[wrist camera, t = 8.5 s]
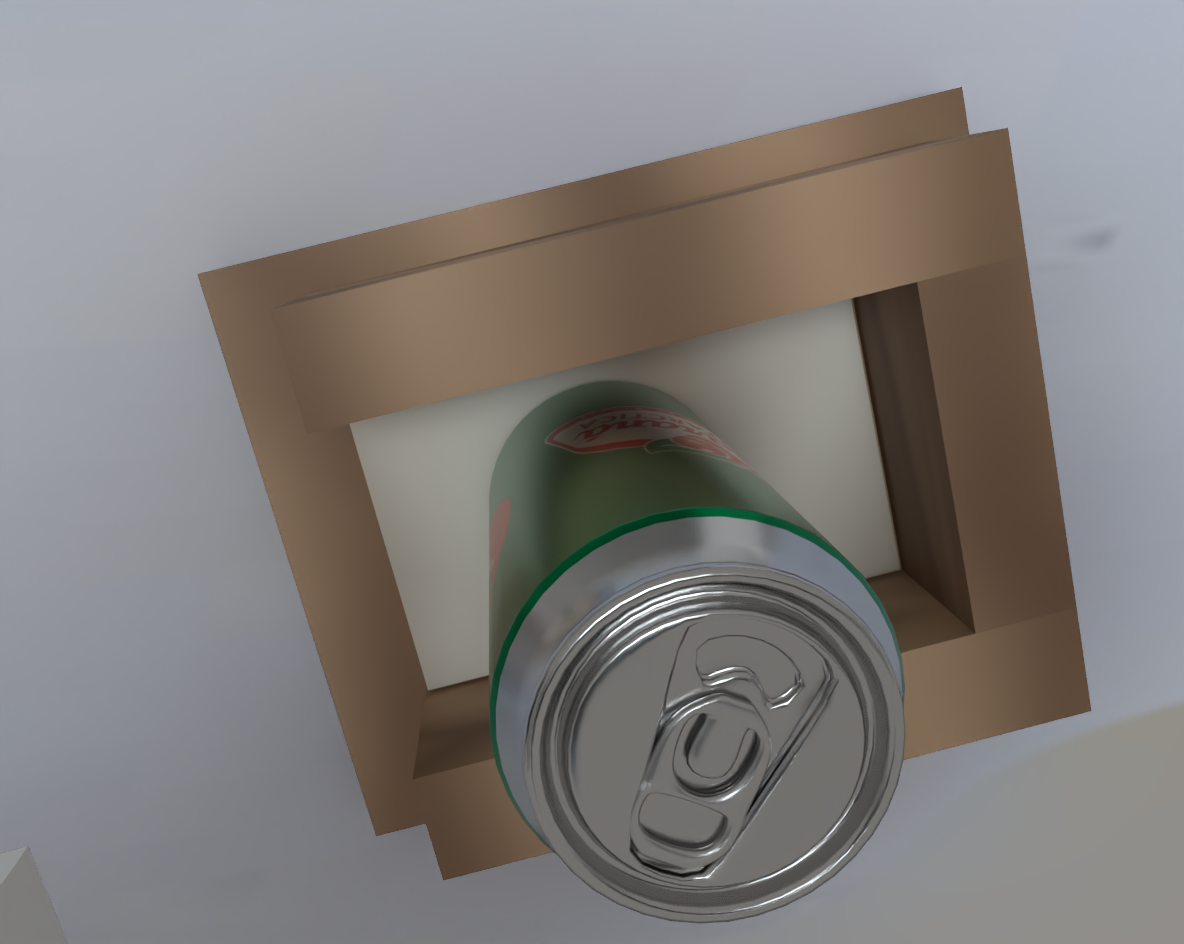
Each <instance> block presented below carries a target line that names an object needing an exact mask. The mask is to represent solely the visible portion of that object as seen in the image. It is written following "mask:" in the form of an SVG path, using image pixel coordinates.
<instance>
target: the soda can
mask: <svg viewBox="0 0 1184 944" xmlns="http://www.w3.org/2000/svg"><path fill="white" fill-rule="evenodd" d="M904 695H905V682H904V673H903V663H902V656H901V652H900V648H899V645H898V641H897V638H896V634H895V631H894V627H893V625H892V623H891V621H890V619H889V617H888V615H887V613H886V611H885V608H884V606H883V604H882V602H881V600H880V599H879V597H878V596H877V594H876V593H875V592H874V590H873V589H872V587H871V586H870V585H869V583H868V582H867V580H866V579H865V577H864V576H863V575H862V574H861V573H860V572H859V571H858V570H857V569H856V568H855V567H854V566H853V565H852V564H851V563H850V562H849V561H848V560H847V559H846V558H845V557H844V556H843V555H842V554H841V553H840V552H839V551H838V550H837V549H836V548H835V547H834V546H833V545H832V544H831V543H830V542H829V541H828V540H827V539H826V538H825V537H824V536H823V535H821V534H820V533H819V532H818V531H817V530H816V529H815V528H814V527H813V526H812V525H811V524H810V523H809V522H808V521H807V520H806V519H805V518H804V517H803V516H802V515H801V514H799V513H798V512H797V511H796V510H795V509H794V508H793V507H792V506H791V505H790V504H789V503H788V502H787V501H786V500H785V499H784V498H783V497H782V496H781V495H780V494H778V493H777V492H776V491H775V490H774V489H773V488H772V487H771V486H770V485H769V484H768V483H767V482H766V481H765V480H764V479H763V478H762V477H761V476H760V475H759V474H758V473H756V472H755V471H754V470H753V469H752V468H751V467H750V466H749V465H748V464H747V463H746V462H745V461H744V460H743V459H742V458H741V457H740V456H739V455H738V454H737V453H736V452H734V451H733V450H732V449H731V448H730V447H729V446H728V445H727V444H726V443H725V442H724V441H723V440H722V439H721V438H720V437H719V436H718V435H717V434H716V433H715V432H714V431H712V430H711V429H710V428H709V427H708V426H707V425H706V424H705V423H704V422H703V421H702V420H701V419H700V418H699V417H698V416H697V415H696V414H695V413H694V412H693V411H692V410H690V409H689V408H688V407H687V406H685V405H684V404H682V403H681V402H679V401H678V400H677V399H675V398H674V397H672V396H670V395H668V394H666V393H664V392H662V391H659V390H657V389H654V388H651V387H648V386H644V385H641V384H637V383H629V382H622V381H602V382H595V383H589V384H584V385H580V386H577V387H574V388H571V389H568V390H565V391H563V392H561V393H559V394H557V395H555V396H553V397H551V398H549V399H547V400H546V401H544V402H543V403H542V404H540V405H539V406H538V407H536V408H535V409H534V410H532V411H531V412H530V413H529V414H528V415H527V416H526V417H525V418H524V419H523V420H522V421H521V422H520V423H519V424H518V425H517V426H516V428H515V429H514V430H513V432H512V433H511V435H510V436H509V437H508V439H507V440H506V442H505V444H504V446H503V448H502V450H501V452H500V454H499V456H498V458H497V461H496V464H495V467H494V471H493V474H492V478H491V485H490V492H489V724H490V738H491V743H492V748H493V753H494V758H495V763H496V767H497V769H498V772H499V774H500V777H501V780H502V782H503V785H504V787H505V790H506V792H507V795H508V796H509V798H510V800H511V801H512V803H513V805H514V806H515V808H516V810H517V811H518V813H519V815H520V816H521V818H522V820H523V821H524V822H525V823H526V824H527V825H528V827H529V828H530V829H531V830H532V831H533V832H534V834H535V835H536V836H537V837H538V838H539V839H540V841H541V842H542V843H543V844H545V845H546V846H547V847H548V848H549V849H551V850H552V851H553V852H554V853H555V854H556V855H558V856H559V857H560V858H561V859H562V861H563V862H564V863H565V864H566V865H567V866H568V868H569V869H570V870H571V871H572V872H573V873H574V874H575V875H576V876H578V877H579V878H580V879H581V880H582V881H584V882H585V883H586V884H587V885H588V886H589V887H591V888H592V889H593V890H595V891H596V892H598V893H600V894H601V895H603V896H605V897H606V898H608V899H610V900H611V901H613V902H615V903H616V904H618V905H621V906H624V907H626V908H629V909H631V910H634V911H636V912H639V913H641V914H644V915H648V916H652V917H656V918H661V919H665V920H669V921H678V922H690V923H713V922H729V921H734V920H739V919H744V918H749V917H754V916H758V915H761V914H764V913H766V912H769V911H772V910H775V909H778V908H781V907H784V906H786V905H788V904H790V903H792V902H794V901H796V900H797V899H799V898H801V897H803V896H805V895H807V894H809V893H811V892H812V891H814V890H815V889H817V888H818V887H819V886H821V885H822V884H824V883H825V882H827V881H828V880H829V879H831V878H832V877H834V876H835V875H836V874H837V873H838V872H839V871H840V870H841V869H842V868H843V867H845V866H846V865H847V864H848V863H849V862H850V861H851V860H852V859H853V858H854V857H855V856H856V855H857V854H858V852H859V851H860V850H861V849H862V847H863V846H864V845H865V844H866V842H867V841H868V840H869V839H870V837H871V836H872V835H873V834H874V832H875V830H876V828H877V827H878V825H879V823H880V822H881V820H882V818H883V817H884V815H885V813H886V811H887V810H888V807H889V805H890V802H891V800H892V797H893V795H894V792H895V789H896V787H897V784H898V780H899V776H900V772H901V767H902V763H903V758H904V746H905V730H906V729H905V720H904Z"/></svg>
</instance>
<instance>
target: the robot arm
mask: <svg viewBox="0 0 1184 944" xmlns="http://www.w3.org/2000/svg"><path fill="white" fill-rule="evenodd" d="M0 944H68V943H67V940H66V938H65V935H64V933H63V930H62V928H61V925H60V923H59V920H58V918H57V916H56V913H55V911H54V908H53V906H52V903H51V901H50V898H49V896H48V893H47V891H46V889H45V886H44V884H43V881H42V879H41V876H40V874H39V871H38V869H37V866H36V864H35V861H34V859H33V857H32V854H31V852H30V849H29V847H28V846H26V847H23V848H19V849H15V850H11V851H8V852H4V853H0Z"/></svg>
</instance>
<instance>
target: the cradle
mask: <svg viewBox="0 0 1184 944" xmlns="http://www.w3.org/2000/svg"><path fill="white" fill-rule="evenodd" d="M198 277H199V280H200V284H201V287H202V290H203V293H204V296H205V299H206V302H207V306H208V309H209V312H210V315H211V318H212V321H213V324H214V328H215V331H216V334H217V337H218V340H219V343H220V346H221V350H222V353H223V356H224V359H225V362H226V365H227V368H228V372H229V375H230V378H231V381H232V384H233V387H234V390H235V394H236V397H237V400H238V403H239V406H240V409H241V412H242V416H243V419H244V422H245V425H246V428H247V431H248V434H249V438H250V441H251V444H252V447H253V450H254V453H255V456H256V460H257V463H258V466H259V469H260V472H261V475H262V478H263V482H264V485H265V488H266V491H267V494H268V497H269V500H270V503H271V507H272V510H273V513H274V516H275V519H276V522H277V525H278V529H279V532H280V535H281V538H282V541H283V544H284V547H285V551H286V554H287V557H288V560H289V563H290V566H291V569H292V573H293V576H294V579H295V582H296V585H297V588H298V591H299V595H300V598H301V601H302V604H303V607H304V610H305V613H306V617H307V620H308V623H309V626H310V629H311V632H312V635H313V639H314V642H315V645H316V648H317V651H318V654H319V657H320V661H321V664H322V667H323V670H324V673H325V676H326V679H327V683H328V686H329V689H330V692H331V695H332V698H333V701H334V705H335V708H336V711H337V714H338V717H339V720H340V723H341V727H342V730H343V733H344V736H345V739H346V742H347V745H348V749H349V752H350V755H351V758H352V761H353V764H354V767H355V771H356V774H357V777H358V780H359V783H360V786H361V789H362V793H363V796H364V799H365V802H366V805H367V808H368V811H369V815H370V818H371V821H372V824H373V827H374V830H375V833H376V836H379V835H382V834H386V833H390V832H394V831H398V830H402V829H406V828H409V827H413V826H417V825H421V824H425V823H426V825H427V828H428V831H429V835H430V838H431V841H432V845H433V848H434V851H435V854H436V858H437V861H438V864H439V867H440V871H441V874H442V877H443V880H447V879H451V878H454V877H458V876H462V875H466V874H470V873H474V872H477V871H481V870H485V869H489V868H493V867H496V866H500V865H504V864H508V863H512V862H516V861H519V860H523V859H527V858H531V857H535V856H538V855H542V854H546V853H550V852H553V851H552V850H551V849H549V848H548V847H547V846H546V845H545V844H543V843H542V842H541V841H540V839H539V838H538V837H537V836H536V835H535V834H534V832H533V831H532V830H531V829H530V828H529V827H528V825H527V824H526V823H525V822H524V821H523V820H522V818H521V816H520V815H519V813H518V811H517V810H516V808H515V806H514V805H513V803H512V801H511V800H510V798H509V796H508V795H507V792H506V790H505V787H504V785H503V782H502V780H501V777H500V774H499V772H498V769H497V767H496V763H495V758H494V753H493V748H492V743H491V738H490V724H489V492H490V485H491V478H492V474H493V471H494V467H495V464H496V461H497V458H498V456H499V454H500V452H501V450H502V448H503V446H504V444H505V442H506V440H507V439H508V437H509V436H510V435H511V433H512V432H513V430H514V429H515V428H516V426H517V425H518V424H519V423H520V422H521V421H522V420H523V419H524V418H525V417H526V416H527V415H528V414H529V413H530V412H531V411H532V410H534V409H535V408H536V407H538V406H539V405H540V404H542V403H543V402H544V401H546V400H547V399H549V398H551V397H553V396H555V395H557V394H559V393H561V392H563V391H565V390H568V389H571V388H574V387H577V386H580V385H584V384H589V383H595V382H602V381H622V382H629V383H637V384H641V385H644V386H648V387H651V388H654V389H657V390H659V391H662V392H664V393H666V394H668V395H670V396H672V397H674V398H675V399H677V400H678V401H679V402H681V403H682V404H684V405H685V406H687V407H688V408H689V409H690V410H692V411H693V412H694V413H695V414H696V415H697V416H698V417H699V418H700V419H701V420H702V421H703V422H704V423H705V424H706V425H707V426H708V427H709V428H710V429H711V430H712V431H714V432H715V433H716V434H717V435H718V436H719V437H720V438H721V439H722V440H723V441H724V442H725V443H726V444H727V445H728V446H729V447H730V448H731V449H732V450H733V451H734V452H736V453H737V454H738V455H739V456H740V457H741V458H742V459H743V460H744V461H745V462H746V463H747V464H748V465H749V466H750V467H751V468H752V469H753V470H754V471H755V472H756V473H758V474H759V475H760V476H761V477H762V478H763V479H764V480H765V481H766V482H767V483H768V484H769V485H770V486H771V487H772V488H773V489H774V490H775V491H776V492H777V493H778V494H780V495H781V496H782V497H783V498H784V499H785V500H786V501H787V502H788V503H789V504H790V505H791V506H792V507H793V508H794V509H795V510H796V511H797V512H798V513H799V514H801V515H802V516H803V517H804V518H805V519H806V520H807V521H808V522H809V523H810V524H811V525H812V526H813V527H814V528H815V529H816V530H817V531H818V532H819V533H820V534H821V535H823V536H824V537H825V538H826V539H827V540H828V541H829V542H830V543H831V544H832V545H833V546H834V547H835V548H836V549H837V550H838V551H839V552H840V553H841V554H842V555H843V556H844V557H845V558H846V559H847V560H848V561H849V562H850V563H851V564H852V565H853V566H854V567H855V568H856V569H857V570H858V571H859V572H860V573H861V574H862V575H863V576H864V577H865V579H866V580H867V582H868V583H869V585H870V586H871V587H872V589H873V590H874V592H875V593H876V594H877V596H878V597H879V599H880V600H881V602H882V604H883V606H884V608H885V611H886V613H887V615H888V617H889V619H890V621H891V623H892V625H893V627H894V631H895V634H896V638H897V641H898V645H899V648H900V652H901V656H902V663H903V673H904V682H905V695H904V720H905V729H906V730H905V746H904V758H903V760H905V759H909V758H913V757H917V756H920V755H924V754H928V753H932V752H936V751H940V750H943V749H947V748H951V747H955V746H959V745H962V744H966V743H970V742H974V741H978V740H982V739H985V738H989V737H993V736H997V735H1001V734H1004V733H1008V732H1012V731H1016V730H1020V729H1024V728H1027V727H1031V726H1035V725H1039V724H1043V723H1046V722H1050V721H1054V720H1058V719H1062V718H1066V717H1069V716H1073V715H1077V714H1081V713H1085V712H1088V711H1091V706H1090V699H1089V692H1088V685H1087V678H1086V671H1085V664H1084V657H1083V650H1082V643H1081V636H1080V629H1079V622H1078V615H1077V608H1076V601H1075V594H1074V587H1073V580H1072V573H1071V566H1070V559H1069V552H1068V545H1067V538H1066V531H1065V524H1064V517H1063V510H1062V503H1061V496H1060V489H1059V482H1058V475H1057V468H1056V461H1055V454H1054V447H1053V440H1052V433H1051V426H1050V419H1049V412H1048V405H1047V398H1046V391H1045V384H1044V377H1043V370H1042V363H1041V356H1040V349H1039V342H1038V335H1037V328H1036V321H1035V314H1034V307H1033V300H1032V293H1031V286H1030V279H1029V272H1028V265H1027V258H1026V251H1025V244H1024V237H1023V230H1022V223H1021V216H1020V209H1019V202H1018V195H1017V188H1016V181H1015V174H1014V167H1013V160H1012V153H1011V146H1010V139H1009V132H1008V128H1006V129H1000V130H994V131H989V132H983V133H977V134H971V135H969V131H968V124H967V118H966V111H965V105H964V98H963V91H962V87H960V88H956V89H952V90H948V91H944V92H940V93H936V94H931V95H927V96H923V97H919V98H915V99H911V100H907V101H903V102H899V103H895V104H891V105H887V106H882V107H878V108H874V109H870V110H866V111H862V112H858V113H854V114H850V115H846V116H842V117H838V118H833V119H829V120H825V121H821V122H817V123H813V124H809V125H805V126H801V127H797V128H793V129H789V130H784V131H780V132H776V133H772V134H768V135H764V136H760V137H756V138H752V139H748V140H744V141H740V142H735V143H731V144H727V145H723V146H719V147H715V148H711V149H707V150H703V151H699V152H695V153H691V154H686V155H682V156H678V157H674V158H670V159H666V160H662V161H658V162H654V163H650V164H646V165H642V166H637V167H633V168H629V169H625V170H621V171H617V172H613V173H609V174H605V175H601V176H597V177H593V178H588V179H584V180H580V181H576V182H572V183H568V184H564V185H560V186H556V187H552V188H548V189H544V190H539V191H535V192H531V193H527V194H523V195H519V196H515V197H511V198H507V199H503V200H499V201H495V202H490V203H486V204H482V205H478V206H474V207H470V208H466V209H462V210H458V211H454V212H450V213H446V214H441V215H437V216H433V217H429V218H425V219H421V220H417V221H413V222H409V223H405V224H401V225H397V226H392V227H388V228H384V229H380V230H376V231H372V232H368V233H364V234H360V235H356V236H352V237H348V238H343V239H339V240H335V241H331V242H327V243H323V244H319V245H315V246H311V247H307V248H303V249H299V250H294V251H290V252H286V253H282V254H278V255H274V256H270V257H266V258H262V259H258V260H254V261H250V262H245V263H241V264H237V265H233V266H229V267H225V268H221V269H217V270H213V271H209V272H205V273H201V274H198Z"/></svg>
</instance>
